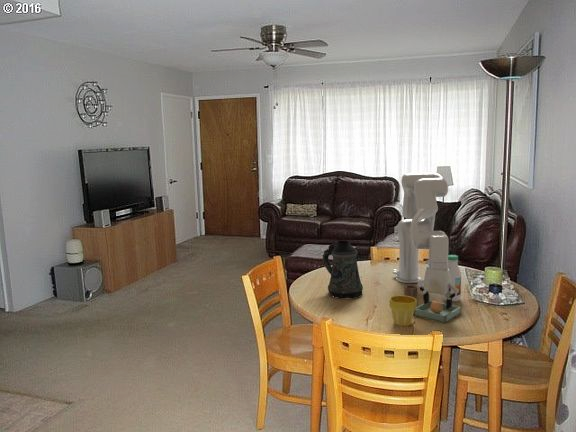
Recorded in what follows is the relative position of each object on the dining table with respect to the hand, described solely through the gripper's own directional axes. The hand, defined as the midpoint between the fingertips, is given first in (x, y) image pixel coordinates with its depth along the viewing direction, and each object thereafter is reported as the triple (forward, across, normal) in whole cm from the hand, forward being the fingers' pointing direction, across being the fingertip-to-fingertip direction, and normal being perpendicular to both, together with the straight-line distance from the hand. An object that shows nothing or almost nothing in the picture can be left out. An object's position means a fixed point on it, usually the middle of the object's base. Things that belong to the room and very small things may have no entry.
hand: (437, 305), depth 197 cm
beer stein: (+4, -47, -2) cm, 47 cm away
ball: (+1, 0, 0) cm, 1 cm away
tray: (+4, 0, 0) cm, 4 cm away
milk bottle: (+4, -4, +22) cm, 23 cm away
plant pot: (+4, -6, -17) cm, 18 cm away
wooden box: (+4, -16, +7) cm, 18 cm away
